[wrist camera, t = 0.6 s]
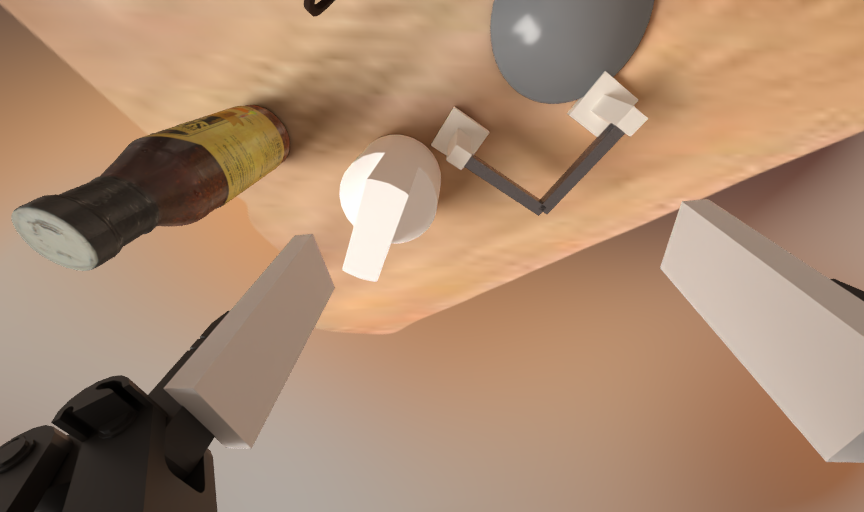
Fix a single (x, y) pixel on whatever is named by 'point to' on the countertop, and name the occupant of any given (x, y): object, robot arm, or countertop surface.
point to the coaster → (564, 43)
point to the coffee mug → (317, 6)
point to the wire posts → (590, 111)
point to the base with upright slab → (387, 200)
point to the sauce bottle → (155, 186)
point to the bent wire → (562, 185)
